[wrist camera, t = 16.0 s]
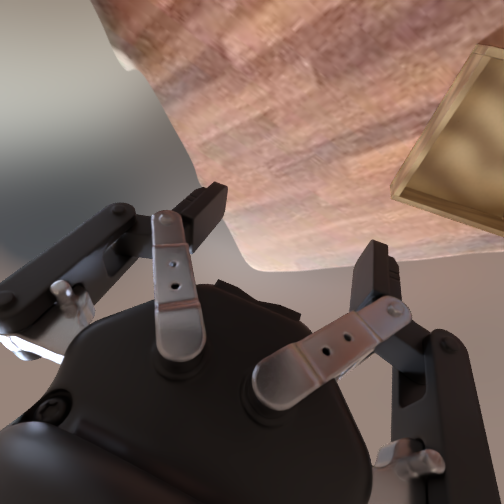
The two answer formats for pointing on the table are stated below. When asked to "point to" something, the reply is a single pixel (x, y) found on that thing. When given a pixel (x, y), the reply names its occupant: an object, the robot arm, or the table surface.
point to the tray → (462, 149)
